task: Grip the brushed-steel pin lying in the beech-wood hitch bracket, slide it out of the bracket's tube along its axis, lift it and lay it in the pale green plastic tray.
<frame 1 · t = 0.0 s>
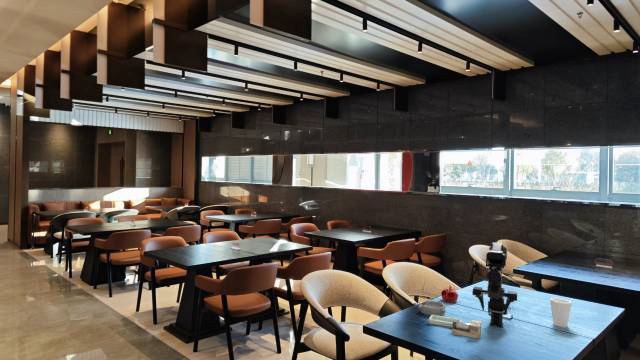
hand: (494, 312, 189), 15 cm above the table, tool pointing down, fingers open, 9 cm apart
pin: (464, 326, 201), point 3 cm above the table, touching bracket
pomegranate: (449, 301, 254), on the table
bracket: (465, 333, 201), on the table
foam cup: (560, 325, 216), on the table
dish: (433, 313, 231), on the table
tray: (445, 323, 214), on the table
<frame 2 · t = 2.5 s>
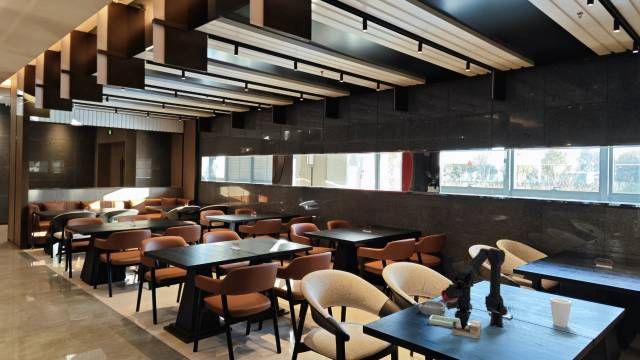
hand: (463, 327, 201), 3 cm above the table, tool pointing down, fingers closed on pin, 3 cm apart
pin: (464, 326, 201), point 3 cm above the table, touching bracket, gripper
everything else where it was.
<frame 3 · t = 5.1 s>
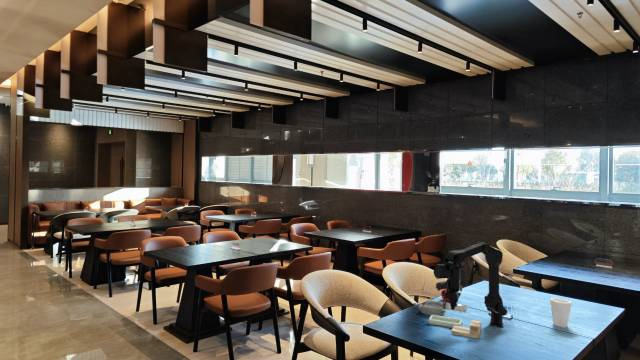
hand: (453, 308, 204), 11 cm above the table, tool pointing down, fingers closed on pin, 3 cm apart
pin: (454, 307, 203), point 12 cm above the table, touching gripper
everything else where it was.
when the fingers open (3 cm above the table, at t = 7.8 s): pin drops 2 cm, resting on tray.
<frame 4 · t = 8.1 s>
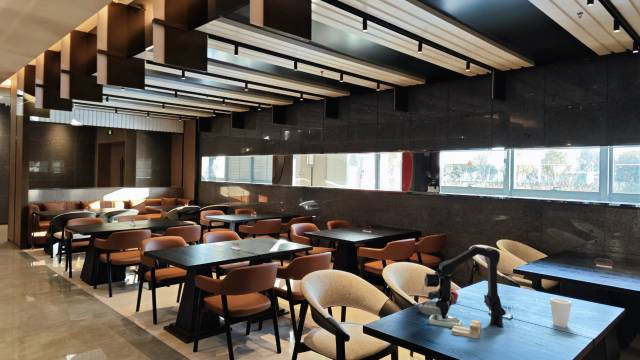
hand: (444, 316, 214), 3 cm above the table, tool pointing down, fingers open, 6 cm apart
pin: (445, 319, 214), point 2 cm above the table, touching tray
everything else where it was.
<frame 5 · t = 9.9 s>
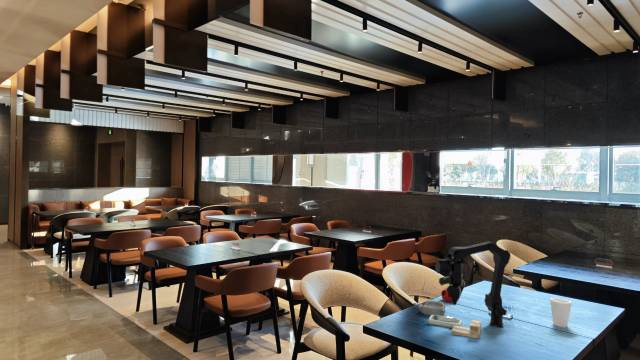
hand: (456, 302, 211), 12 cm above the table, tool pointing down, fingers open, 9 cm apart
pin: (445, 319, 213), point 2 cm above the table, tilted 26°, touching tray
everything else where it was.
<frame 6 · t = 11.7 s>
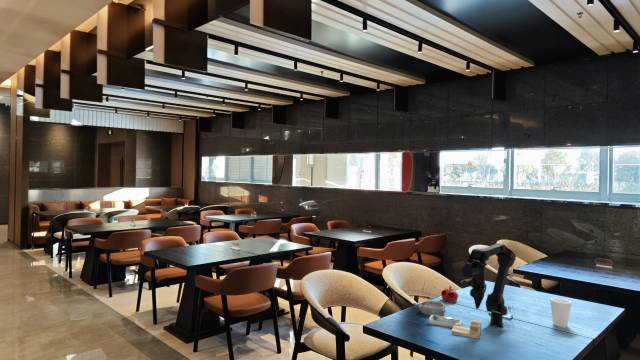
hand: (478, 306, 204), 13 cm above the table, tool pointing down, fingers open, 9 cm apart
pin: (445, 320, 212), point 2 cm above the table, tilted 61°, touching tray
everything else where it was.
at the end: pin inside the target area on the tray (1.8 cm from its centre), point 2.3 cm above the tray's base; pin touching tray; the gripper is holding nothing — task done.
